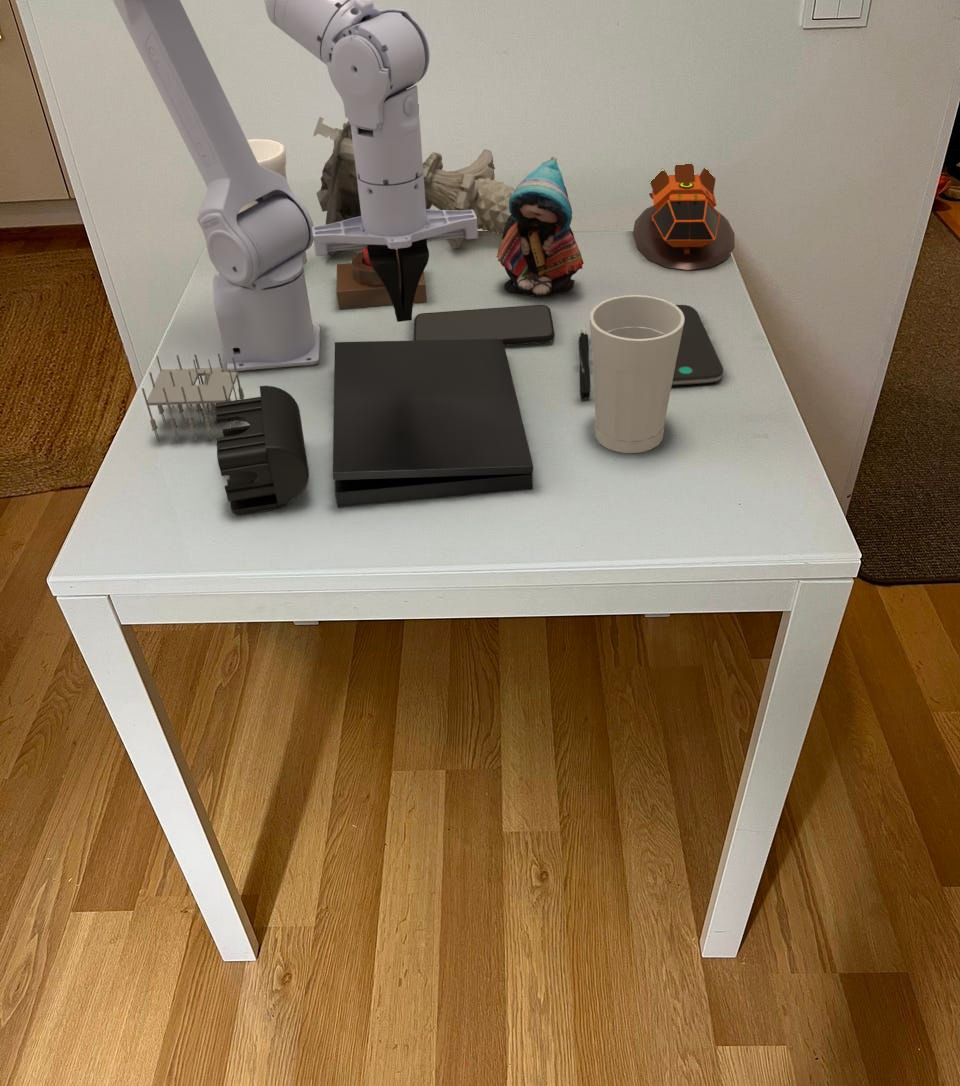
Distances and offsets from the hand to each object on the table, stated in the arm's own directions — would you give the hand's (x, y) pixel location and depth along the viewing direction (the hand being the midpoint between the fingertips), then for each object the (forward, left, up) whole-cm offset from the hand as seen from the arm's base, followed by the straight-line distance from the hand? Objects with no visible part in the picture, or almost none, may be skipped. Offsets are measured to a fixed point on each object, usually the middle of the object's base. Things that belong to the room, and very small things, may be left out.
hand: (403, 316), depth 95 cm
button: (-2, +22, -5) cm, 23 cm away
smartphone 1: (+8, +10, -8) cm, 16 cm away
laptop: (+1, -7, -8) cm, 11 cm away
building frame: (-20, -3, -9) cm, 22 cm away
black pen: (+18, +1, -8) cm, 20 cm away
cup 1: (-15, +29, -8) cm, 34 cm away
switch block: (-2, +22, -8) cm, 24 cm away
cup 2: (+20, -11, -9) cm, 24 cm away
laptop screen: (+1, -7, -6) cm, 9 cm away
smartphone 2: (+28, +4, -8) cm, 29 cm away
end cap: (-13, -13, -9) cm, 20 cm away
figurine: (+16, +18, -9) cm, 26 cm away
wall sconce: (+2, +29, -11) cm, 31 cm away
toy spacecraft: (+36, +30, -8) cm, 48 cm away
